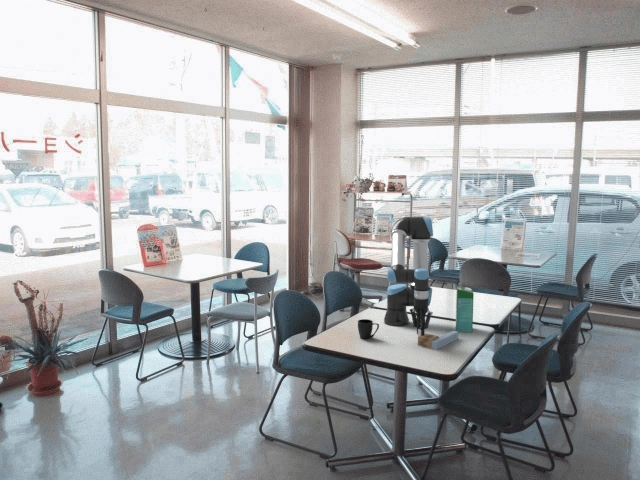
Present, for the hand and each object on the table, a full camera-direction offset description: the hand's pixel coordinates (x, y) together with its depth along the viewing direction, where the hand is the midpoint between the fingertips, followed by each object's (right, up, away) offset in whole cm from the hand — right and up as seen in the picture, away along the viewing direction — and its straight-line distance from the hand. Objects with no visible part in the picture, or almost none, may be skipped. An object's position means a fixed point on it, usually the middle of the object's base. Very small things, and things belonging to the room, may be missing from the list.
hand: (420, 340), depth 291 cm
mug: (-27, -1, +9) cm, 29 cm away
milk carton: (+30, +2, +24) cm, 39 cm away
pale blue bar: (+13, -1, -1) cm, 13 cm away
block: (+4, -2, -3) cm, 5 cm away
